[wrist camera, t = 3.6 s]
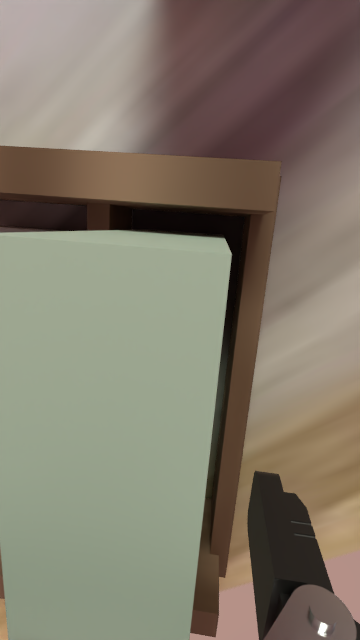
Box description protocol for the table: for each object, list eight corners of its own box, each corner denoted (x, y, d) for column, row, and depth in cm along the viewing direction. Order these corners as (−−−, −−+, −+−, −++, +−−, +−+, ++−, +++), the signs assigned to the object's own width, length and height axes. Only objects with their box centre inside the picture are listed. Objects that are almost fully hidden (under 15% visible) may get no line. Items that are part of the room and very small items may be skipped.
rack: (267, 187, 17) (297, 162, 11) (224, 519, 23) (226, 639, 16) (-60, 167, 19) (-212, 133, 12) (-27, 481, 25) (-119, 576, 18)
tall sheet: (223, 235, 18) (231, 254, 5) (197, 483, 23) (165, 855, 9) (150, 229, 19) (-28, 232, 5) (138, 474, 23) (24, 821, 10)
